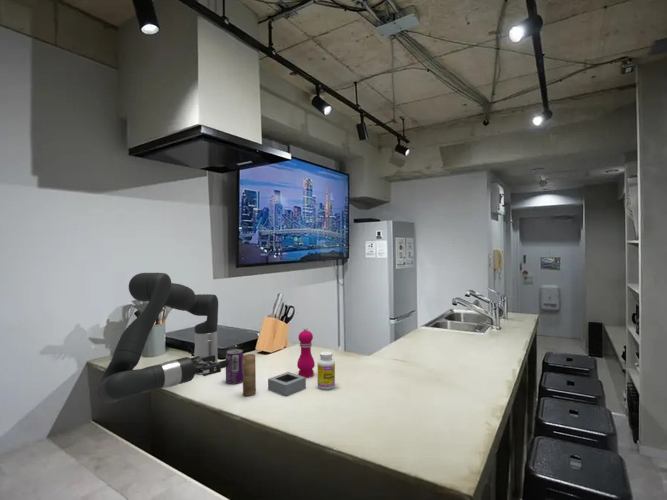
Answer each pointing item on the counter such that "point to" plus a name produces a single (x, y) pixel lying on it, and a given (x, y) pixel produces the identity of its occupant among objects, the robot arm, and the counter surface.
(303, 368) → the pepper mill
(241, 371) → the beverage can
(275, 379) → the socket
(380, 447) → the counter surface
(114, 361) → the robot arm
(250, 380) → the peg
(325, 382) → the supplement bottle
